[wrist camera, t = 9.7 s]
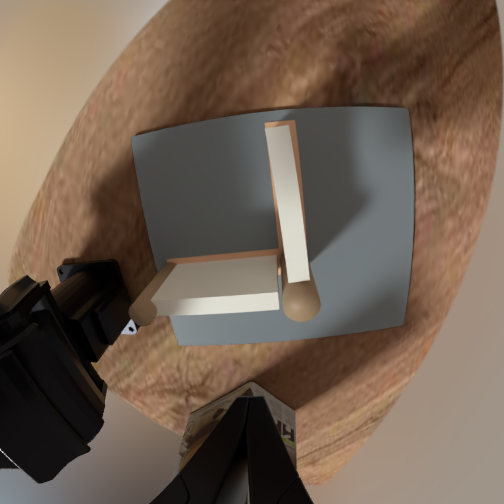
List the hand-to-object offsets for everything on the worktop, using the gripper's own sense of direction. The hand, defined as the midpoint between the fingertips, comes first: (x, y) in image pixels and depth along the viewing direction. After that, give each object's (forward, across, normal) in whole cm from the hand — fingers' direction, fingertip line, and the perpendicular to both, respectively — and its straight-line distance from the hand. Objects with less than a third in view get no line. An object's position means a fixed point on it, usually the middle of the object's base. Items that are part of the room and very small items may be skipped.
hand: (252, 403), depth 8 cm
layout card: (+12, -2, -2) cm, 12 cm away
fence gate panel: (+11, -2, -5) cm, 12 cm away
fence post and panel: (+12, +2, 0) cm, 12 cm away
